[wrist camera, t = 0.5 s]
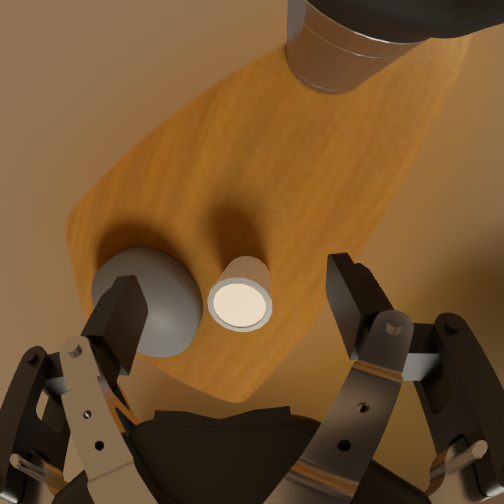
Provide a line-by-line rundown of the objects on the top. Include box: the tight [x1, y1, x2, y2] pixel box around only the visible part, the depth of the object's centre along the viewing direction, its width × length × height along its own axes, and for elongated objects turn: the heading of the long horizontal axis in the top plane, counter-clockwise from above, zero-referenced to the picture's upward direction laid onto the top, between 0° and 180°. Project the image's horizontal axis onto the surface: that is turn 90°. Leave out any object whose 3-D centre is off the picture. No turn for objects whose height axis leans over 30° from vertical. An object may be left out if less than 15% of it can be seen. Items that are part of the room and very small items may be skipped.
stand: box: [92, 246, 203, 357], centre depth 36 cm, size 16×16×4 cm
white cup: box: [207, 256, 272, 332], centre depth 31 cm, size 7×7×7 cm
